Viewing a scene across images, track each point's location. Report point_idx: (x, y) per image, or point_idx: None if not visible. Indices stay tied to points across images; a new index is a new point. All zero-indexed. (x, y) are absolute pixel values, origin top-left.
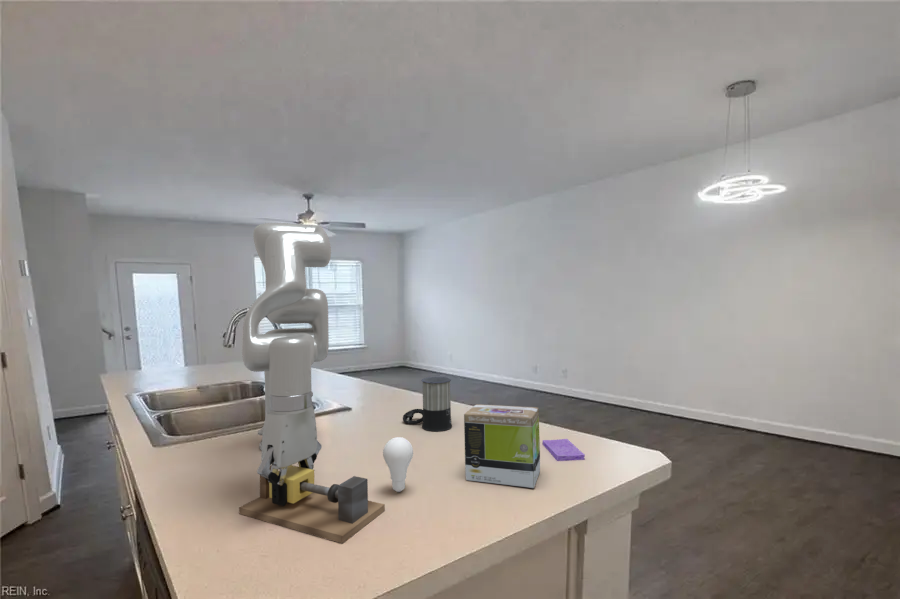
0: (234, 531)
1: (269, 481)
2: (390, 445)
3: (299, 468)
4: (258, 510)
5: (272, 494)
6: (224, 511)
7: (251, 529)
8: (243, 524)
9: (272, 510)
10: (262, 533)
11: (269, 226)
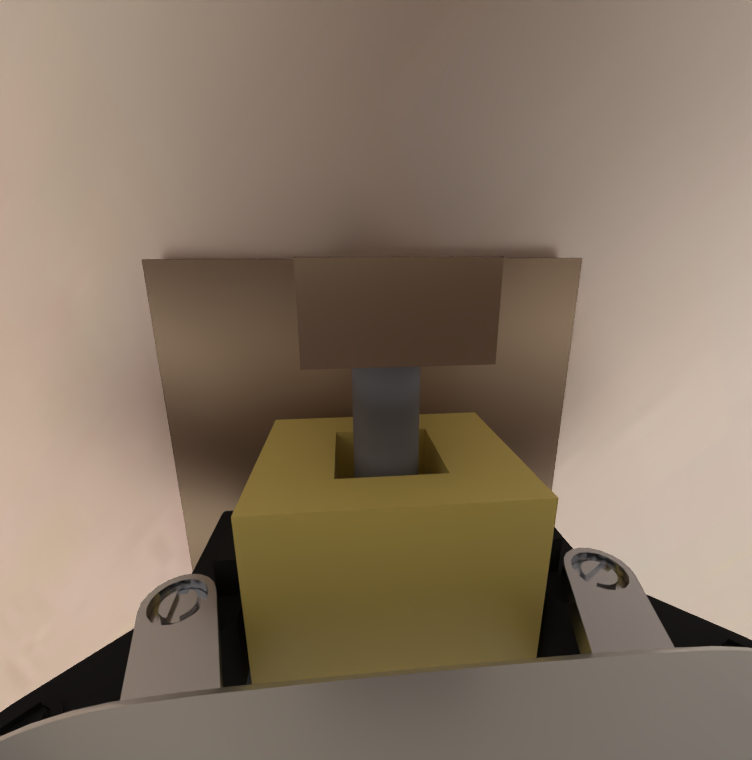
0: (33, 414)
1: (123, 642)
2: None
3: (507, 634)
4: (188, 416)
5: (213, 537)
6: (126, 126)
7: (102, 473)
8: (106, 394)
9: (235, 483)
10: (114, 545)
11: None
